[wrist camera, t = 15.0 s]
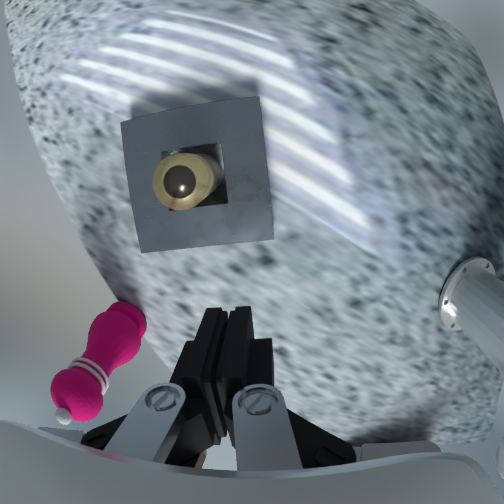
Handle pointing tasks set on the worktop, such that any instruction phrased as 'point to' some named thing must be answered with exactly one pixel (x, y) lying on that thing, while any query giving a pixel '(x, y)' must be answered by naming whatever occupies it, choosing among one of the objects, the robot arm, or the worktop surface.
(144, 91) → the worktop surface
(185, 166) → the cylinder
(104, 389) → the pepper mill
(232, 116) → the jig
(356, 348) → the worktop surface
